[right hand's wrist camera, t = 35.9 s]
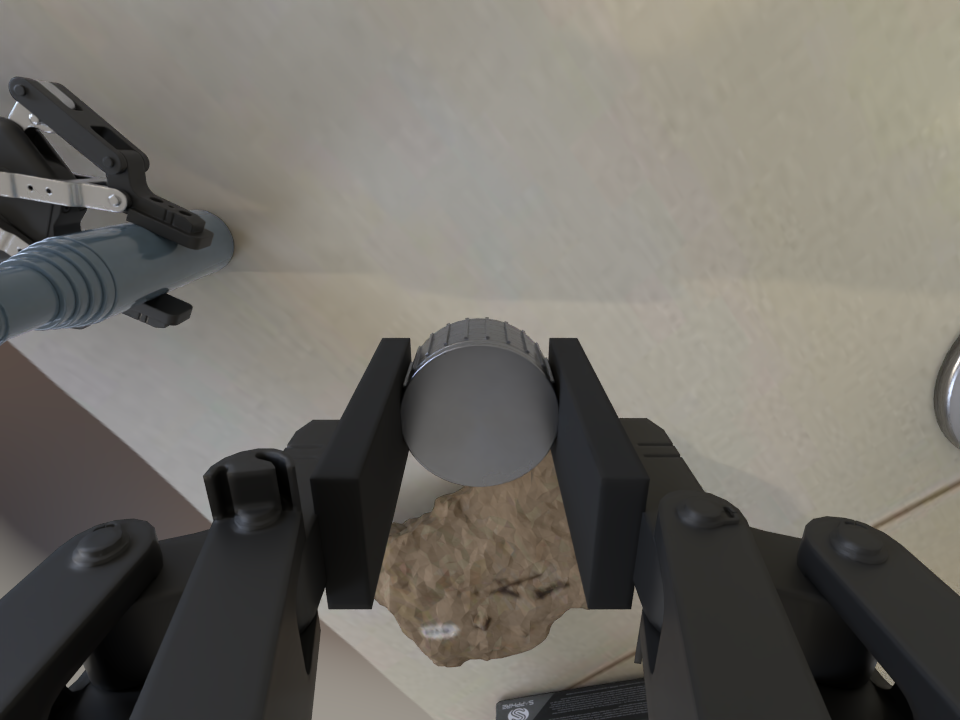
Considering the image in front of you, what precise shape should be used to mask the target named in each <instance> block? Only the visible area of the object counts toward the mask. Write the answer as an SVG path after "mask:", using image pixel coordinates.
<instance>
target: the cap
mask: <svg viewBox="0 0 960 720" xmlns="http://www.w3.org/2000/svg"><path fill="white" fill-rule="evenodd" d="M554 383H555V381H554V378H553V375H552V372H551V368H550V365H549V362H548V359H547V358H544V356H543V354H542V352H541V350H540V348H539V344H538V343H537V342H536V343H534V341H533V340H532V339H531V338H530V337H529V336H527V335H526V334H525V331H524V330H522V331H521V330H519V329H517V328H516V327H514V326H512V325H509V324H508V322H506V321H505V323H504V322H501V321H498V320H492V319H489V318H488V317H485V319H482V318H476V319H469V318H466V320H462V321H458V322H455V323H452V324H450V323H448V324H447V326H446V327H444V328H442V329H440V330H439V331H437V332H436V333H432V334H430V338H429V339H427V340H426V342H425V343H424V344H423V345H422V346H419V347H418V349H417V353H416V356H415V359H414V361H413V362H410V365H409V368H408V371H407V374H406V378H405V381H404V384H403V387H402V388H405V389H404V392H403V395H402V399H401V402H400V410H401V426H402V435H403V438H404V441H405V443H406V445H407V447H408V449H409V450H410V452H411V453H412V455H413V456H414V457H415V458H416V460H417V461H418V462H419V463H420V464H421V465H422V466H424V467H425V468H426V469H427V470H428V471H430V472H431V473H433V474H434V475H436V476H438V477H440V478H442V479H444V480H447V481H449V482H452V483H455V484H459V485H464V486H471V487H487V486H495V485H500V484H504V483H507V482H510V481H513V480H515V479H517V478H519V477H521V476H523V475H525V474H526V473H528V472H529V471H531V470H532V469H533V468H535V467H536V466H537V465H538V464H539V463H540V462H541V461H542V460H543V459H544V457H545V456H546V455H547V454H548V452H549V450H550V449H551V447H552V445H553V443H554V441H555V439H556V436H557V432H558V420H559V402H558V398H557V395H556V391H555V388H554V385H553V384H554Z"/></svg>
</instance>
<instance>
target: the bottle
mask: <svg viewBox="0 0 960 720" xmlns="http://www.w3.org/2000/svg"><path fill="white" fill-rule="evenodd" d="M188 211H191V212H193V213H195V214H197V215H199V216H200V217H201V218H202V219H203V220H204V221H205V222H206V224H205V227H204V228H205V229H208V230H210V231H211V232H213V233H214V236H213V239H212V243H211V246H208V247H205V248H202V249H199V250H193V249H189V248H186V247H184V246H182V245H180V244H178V243H175V242H173V241H171V240H169V239H167V238H164V237H162V236H160V235H158V234H155V233H153V232H151V231H149V230H147V229H145V228H143V227H140V226H138V225H136V224H133V223H131V222H126V223H121V224H116V225H111V226H106V227H100V228H95V229H90V230H85V231H80V232H75V233H69V234H64V235H59V236H54V237H49V238H46V239H43V240H41V241H39V242H35V243H33V244H31V245H30V246H28V247H27V248H25V249H23V250H21V251H20V252H18V253H17V254H16V255H14V256H12V257H10V258H9V259H8V260H6V261H4V262H2V263H0V345H2V344H3V343H4V342H5V341H7V340H9V339H11V338H14V337H17V336H19V335H22V334H24V333H27V332H29V331H32V330H38V331H43V330H49V329H61V328H73V327H84V326H87V325H90V324H96V323H99V322H101V321H104V320H106V319H108V318H110V317H113V316H115V315H117V314H119V313H122V312H124V311H126V310H129V309H131V308H133V307H135V306H138V305H140V304H142V303H145V302H147V301H149V300H151V299H154V298H156V297H158V296H160V295H163V294H165V293H167V292H170V291H172V290H174V289H176V288H179V287H181V286H183V285H186V284H188V283H190V282H192V281H195V280H197V279H199V278H201V277H204V276H206V275H208V274H211V273H213V272H215V271H217V270H220V269H222V268H223V267H225V266H226V265H227V264H228V263H229V261H230V260H231V258H232V255H233V250H234V243H233V238H232V235H231V232H230V230H229V229H228V227H227V226H226V224H225V223H224V222H223V221H222V220H221V219H220V218H218V217H217V216H216V215H214V214H212V213H210V212H208V211H204V210H188Z"/></svg>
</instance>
